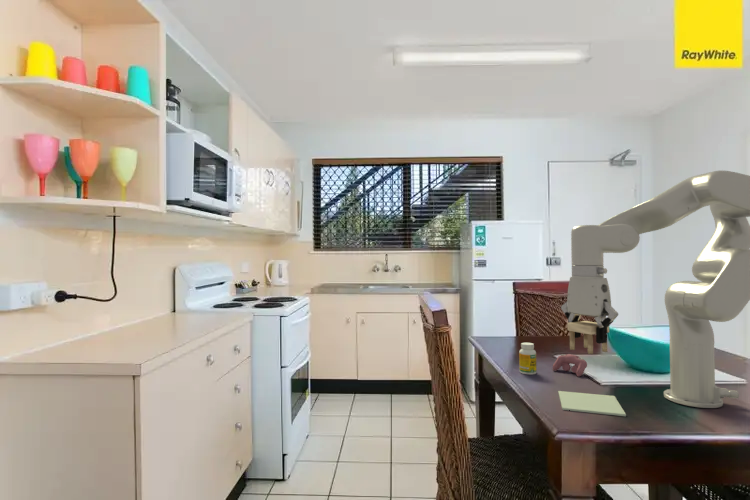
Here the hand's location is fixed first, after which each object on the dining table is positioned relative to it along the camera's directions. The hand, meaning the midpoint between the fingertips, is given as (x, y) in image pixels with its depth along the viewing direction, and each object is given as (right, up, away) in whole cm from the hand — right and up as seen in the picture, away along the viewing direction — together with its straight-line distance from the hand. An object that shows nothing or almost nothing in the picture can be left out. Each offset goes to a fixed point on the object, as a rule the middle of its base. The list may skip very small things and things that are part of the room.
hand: (588, 339), depth 111 cm
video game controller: (+9, -17, +29) cm, 35 cm away
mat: (0, -17, 0) cm, 17 cm away
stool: (0, -3, 0) cm, 3 cm away
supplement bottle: (-5, -17, +29) cm, 34 cm away
